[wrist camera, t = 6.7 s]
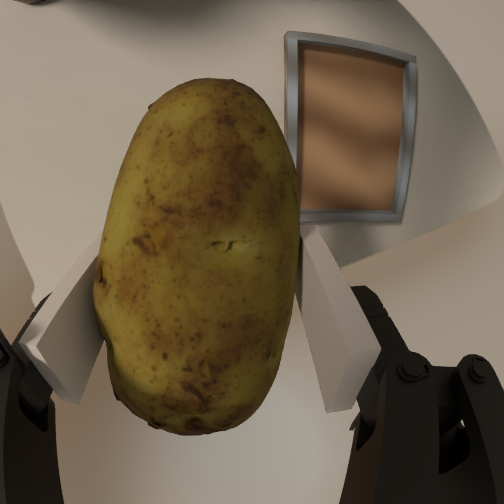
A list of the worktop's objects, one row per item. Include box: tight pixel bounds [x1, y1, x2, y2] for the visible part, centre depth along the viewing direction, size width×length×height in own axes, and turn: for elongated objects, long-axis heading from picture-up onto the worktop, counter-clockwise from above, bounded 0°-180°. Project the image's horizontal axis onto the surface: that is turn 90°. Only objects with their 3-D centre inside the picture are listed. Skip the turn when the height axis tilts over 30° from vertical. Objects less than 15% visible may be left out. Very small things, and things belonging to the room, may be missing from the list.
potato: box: [92, 78, 300, 436], centre depth 10 cm, size 8×13×8 cm, turn 152°
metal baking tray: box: [284, 31, 416, 222], centre depth 22 cm, size 18×13×2 cm
